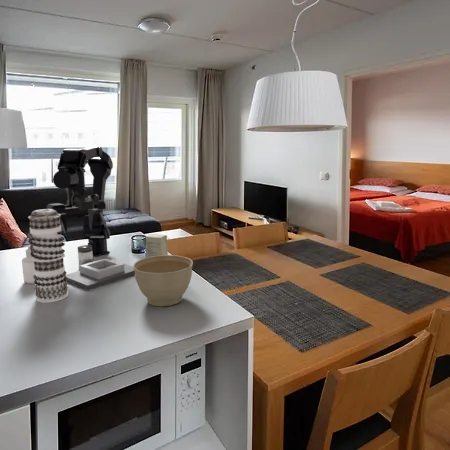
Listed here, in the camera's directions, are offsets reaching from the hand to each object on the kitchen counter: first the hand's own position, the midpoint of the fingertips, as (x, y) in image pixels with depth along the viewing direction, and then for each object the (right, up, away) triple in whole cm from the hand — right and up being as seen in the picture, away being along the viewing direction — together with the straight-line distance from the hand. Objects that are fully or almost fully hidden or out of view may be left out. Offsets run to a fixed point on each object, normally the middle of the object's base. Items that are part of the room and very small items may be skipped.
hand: (79, 231), depth 131 cm
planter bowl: (+34, -19, -25) cm, 47 cm away
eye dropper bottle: (-9, -16, -13) cm, 22 cm away
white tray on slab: (+11, -15, -7) cm, 19 cm away
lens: (+1, -12, +4) cm, 13 cm away
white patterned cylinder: (+2, -18, -24) cm, 30 cm away
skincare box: (+27, -14, 0) cm, 31 cm away
